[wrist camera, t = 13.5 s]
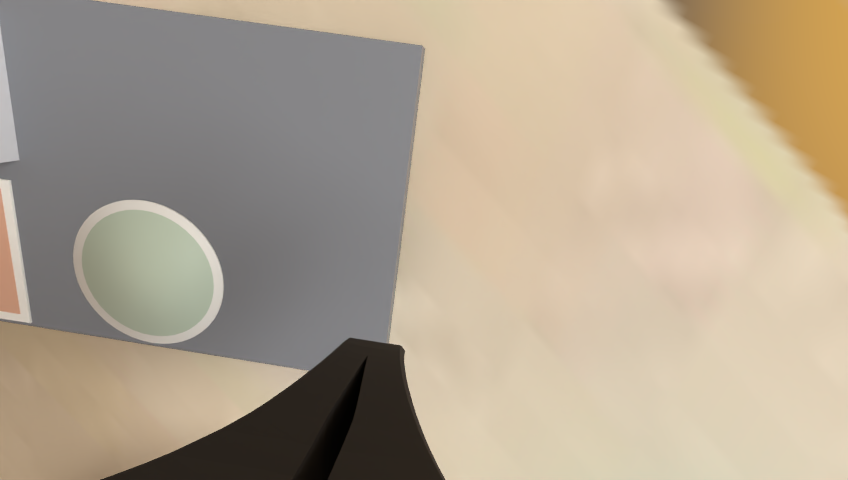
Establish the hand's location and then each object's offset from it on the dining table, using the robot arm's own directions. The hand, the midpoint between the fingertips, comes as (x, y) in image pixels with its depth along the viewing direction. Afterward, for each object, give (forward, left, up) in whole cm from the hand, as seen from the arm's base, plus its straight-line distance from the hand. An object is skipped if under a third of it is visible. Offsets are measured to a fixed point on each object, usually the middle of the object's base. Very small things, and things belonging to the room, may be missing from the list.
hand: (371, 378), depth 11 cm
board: (+1, +13, -9) cm, 16 cm away
